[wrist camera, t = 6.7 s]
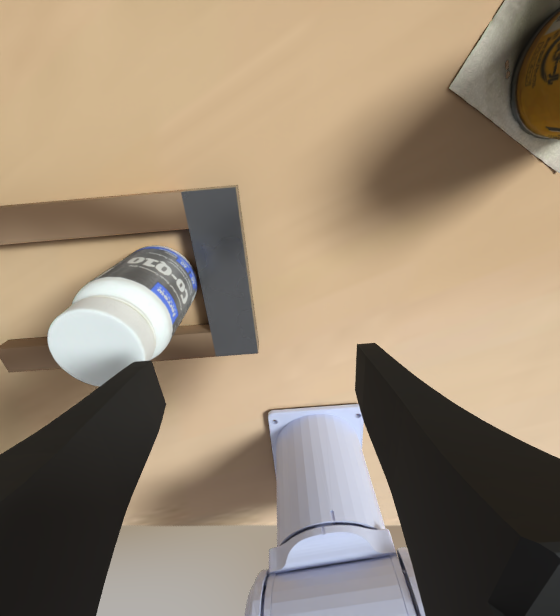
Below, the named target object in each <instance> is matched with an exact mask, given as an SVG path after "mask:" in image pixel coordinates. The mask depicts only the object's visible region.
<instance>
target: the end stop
mask: <svg viewBox="0 0 560 616" xmlns="http://www.w3.org/2000/svg"><path fill="white" fill-rule="evenodd" d="M181 195H182V200H183V204H184V209H185V214H186V218H187V223H188V228H189V232H190V237H191V242H192V246H193V251H194V256H195V260H196V265H197V270H198V274H199V279H200V284H201V288H202V293H203V298H204V302H205V307H206V312H207V316H208V321H209V326H210V330H211V335H212V340H213V344H214V349H215V354H216V356H228V355H241V354H254V353H258V348H259V341H258V334H257V326H256V319H255V311H254V304H253V296H252V289H251V281H250V274H249V266H248V258H247V251H246V243H245V236H244V228H243V221H242V213H241V206H240V198H239V191H238V185H234V186H223V187H211V188H200V189H188V190H184V191H182V192H181Z"/></svg>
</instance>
